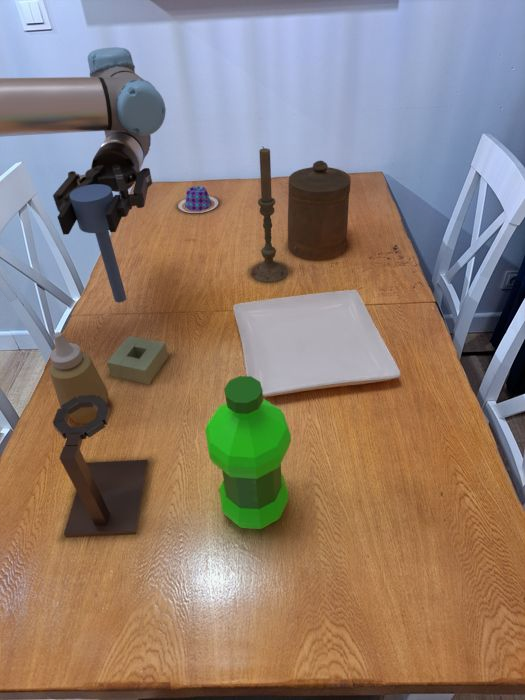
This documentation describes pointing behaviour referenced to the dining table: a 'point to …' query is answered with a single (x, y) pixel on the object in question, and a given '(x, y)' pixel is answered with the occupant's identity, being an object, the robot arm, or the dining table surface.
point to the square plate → (312, 343)
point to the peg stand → (98, 478)
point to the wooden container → (318, 212)
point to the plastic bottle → (249, 454)
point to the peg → (98, 228)
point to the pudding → (197, 200)
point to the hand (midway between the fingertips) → (86, 224)
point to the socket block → (138, 359)
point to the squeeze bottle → (75, 377)
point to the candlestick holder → (267, 227)
